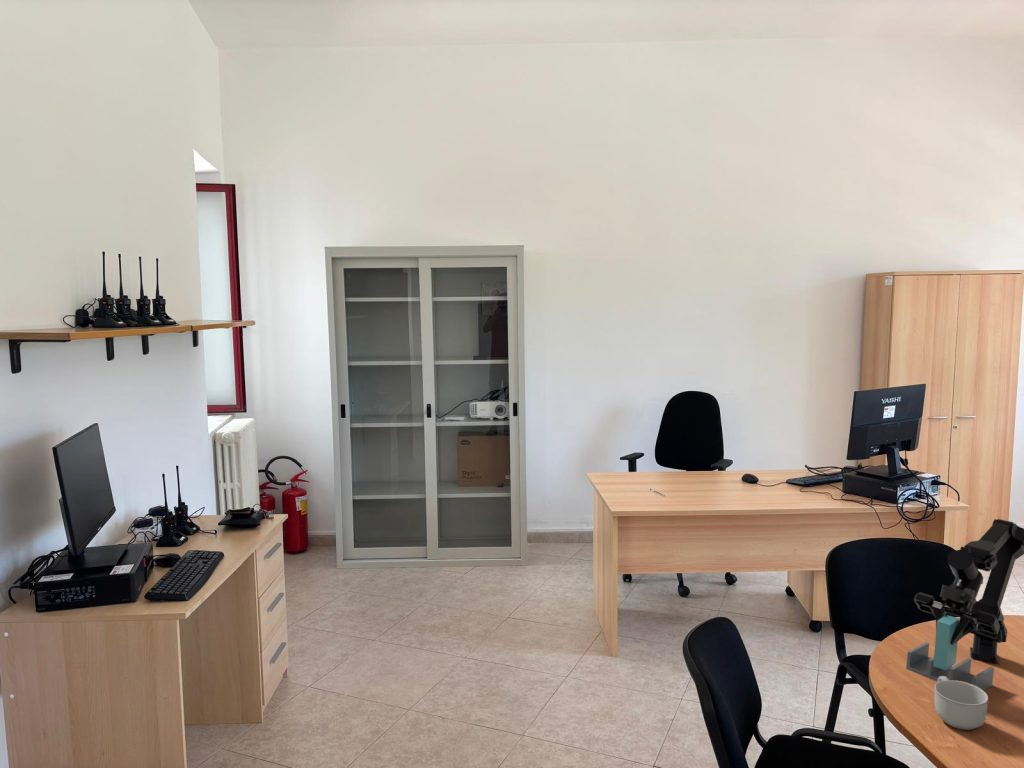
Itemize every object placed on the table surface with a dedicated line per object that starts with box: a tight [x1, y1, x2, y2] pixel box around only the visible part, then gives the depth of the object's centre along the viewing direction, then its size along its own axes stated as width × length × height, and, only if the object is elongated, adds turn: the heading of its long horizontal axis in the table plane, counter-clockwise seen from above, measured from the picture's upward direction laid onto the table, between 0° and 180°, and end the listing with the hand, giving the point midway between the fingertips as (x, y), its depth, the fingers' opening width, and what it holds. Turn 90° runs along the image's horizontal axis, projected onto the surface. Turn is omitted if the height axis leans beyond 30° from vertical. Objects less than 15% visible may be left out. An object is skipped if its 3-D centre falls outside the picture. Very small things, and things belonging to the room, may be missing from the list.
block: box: [933, 614, 960, 670], centre depth 188 cm, size 6×3×12 cm, turn 129°
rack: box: [905, 641, 995, 692], centre depth 195 cm, size 10×17×5 cm, turn 35°
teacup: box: [933, 676, 989, 731], centre depth 175 cm, size 14×11×8 cm
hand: (944, 641), depth 187 cm, fingers closed on block, 3 cm apart
